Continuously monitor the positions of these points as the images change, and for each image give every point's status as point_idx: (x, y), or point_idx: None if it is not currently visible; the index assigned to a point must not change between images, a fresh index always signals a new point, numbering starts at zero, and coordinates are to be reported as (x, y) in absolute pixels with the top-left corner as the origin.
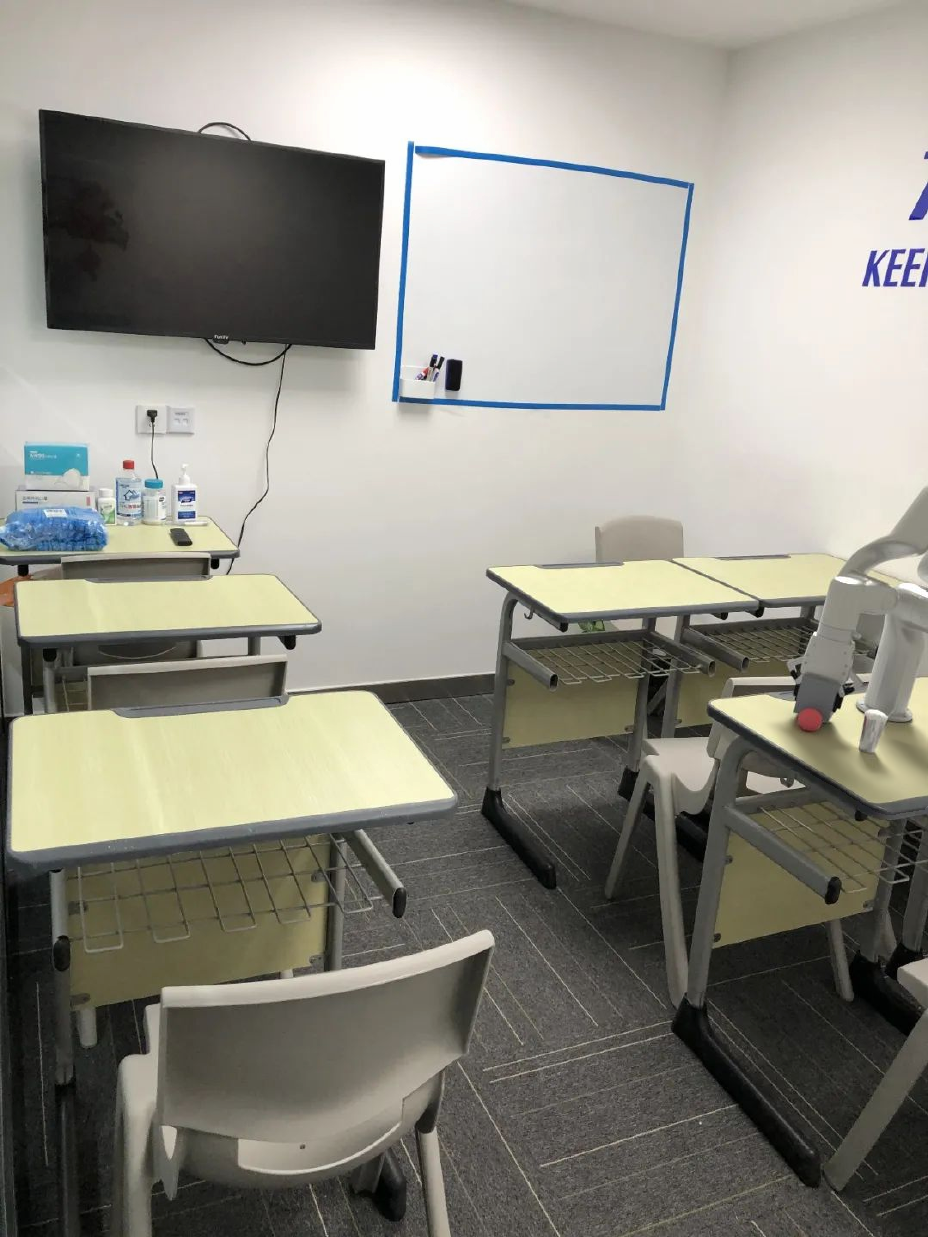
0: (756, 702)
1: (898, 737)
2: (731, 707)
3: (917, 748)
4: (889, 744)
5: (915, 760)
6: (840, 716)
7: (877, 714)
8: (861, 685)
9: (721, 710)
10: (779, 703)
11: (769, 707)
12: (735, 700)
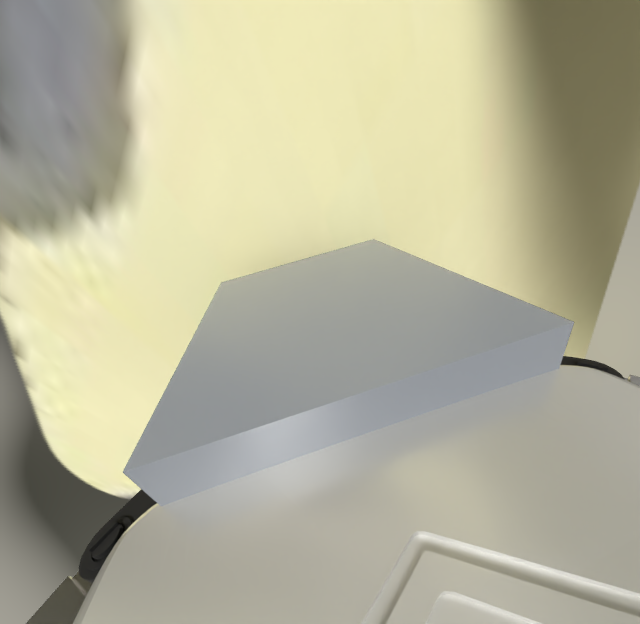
0: (97, 365)
1: (594, 139)
2: (118, 462)
3: (636, 186)
4: (550, 249)
5: (600, 289)
6: (373, 140)
7: None
8: None
9: (131, 493)
10: (135, 282)
11: (159, 358)
12: (58, 419)
